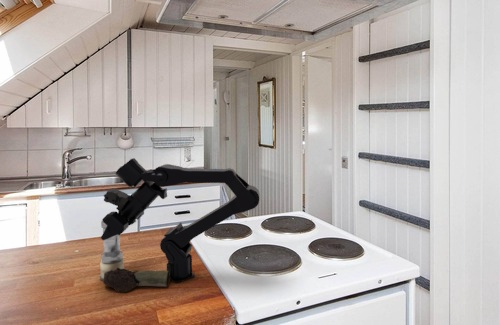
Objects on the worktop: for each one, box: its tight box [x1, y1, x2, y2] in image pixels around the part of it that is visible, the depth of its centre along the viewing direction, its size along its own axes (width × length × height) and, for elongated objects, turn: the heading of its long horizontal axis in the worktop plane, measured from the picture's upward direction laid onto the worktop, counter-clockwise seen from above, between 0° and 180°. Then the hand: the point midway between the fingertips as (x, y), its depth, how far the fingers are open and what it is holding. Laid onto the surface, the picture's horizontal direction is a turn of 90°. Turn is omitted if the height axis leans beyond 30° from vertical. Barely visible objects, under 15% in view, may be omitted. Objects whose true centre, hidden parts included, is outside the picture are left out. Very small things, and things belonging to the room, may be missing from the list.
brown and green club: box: [103, 268, 170, 293], centre depth 94 cm, size 18×7×6 cm, turn 92°
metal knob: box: [100, 220, 124, 264], centre depth 100 cm, size 6×6×12 cm
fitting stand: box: [99, 258, 125, 283], centre depth 101 cm, size 7×7×5 cm
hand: (106, 236), depth 100 cm, fingers open, 5 cm apart
